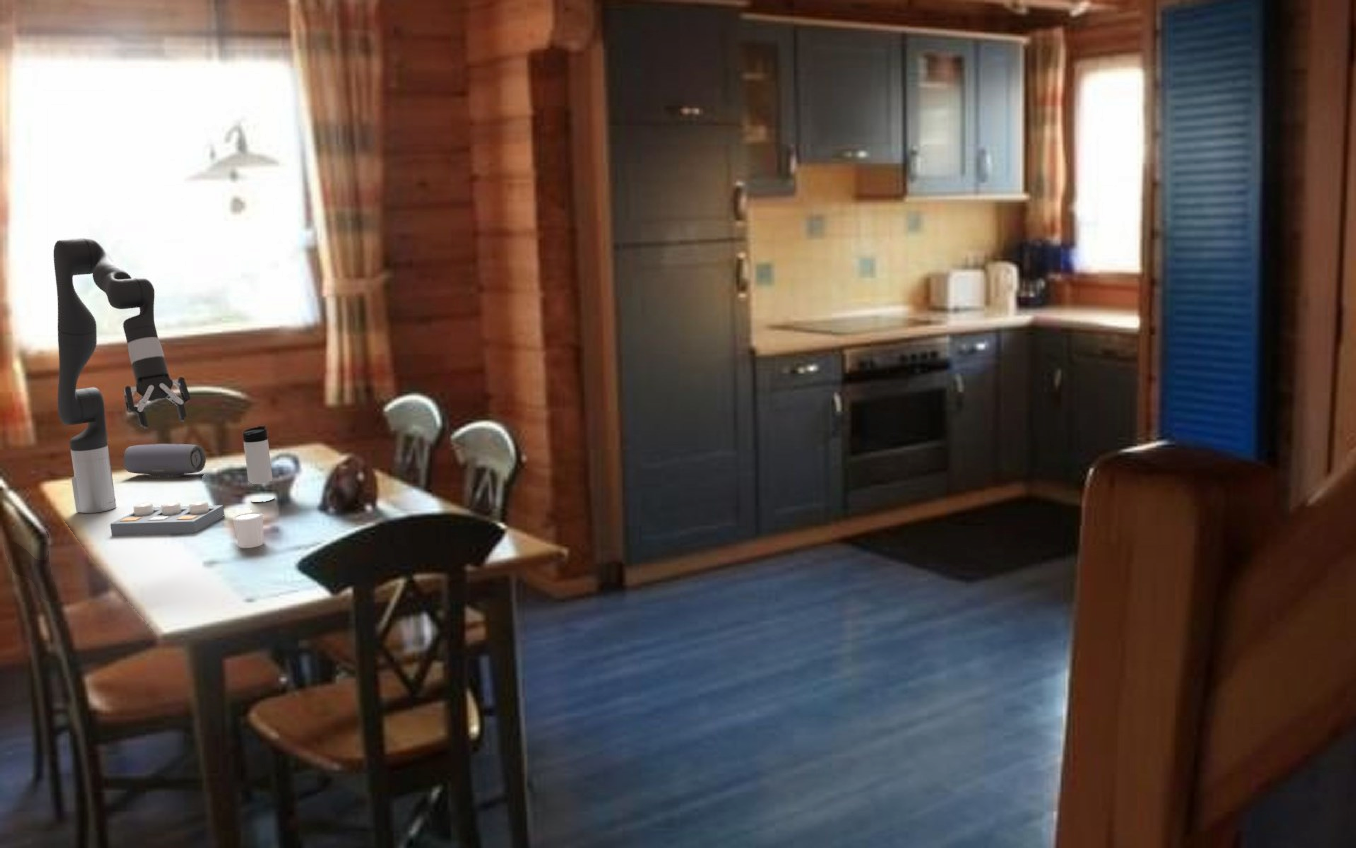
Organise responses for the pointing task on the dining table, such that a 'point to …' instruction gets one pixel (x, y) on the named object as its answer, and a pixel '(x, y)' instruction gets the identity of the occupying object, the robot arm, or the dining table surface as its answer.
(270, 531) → the dining table surface
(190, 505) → the button
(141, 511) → the button
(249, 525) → the white cup
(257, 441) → the travel mug
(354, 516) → the dining table surface
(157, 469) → the bluetooth speaker
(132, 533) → the button board
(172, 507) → the middle button
